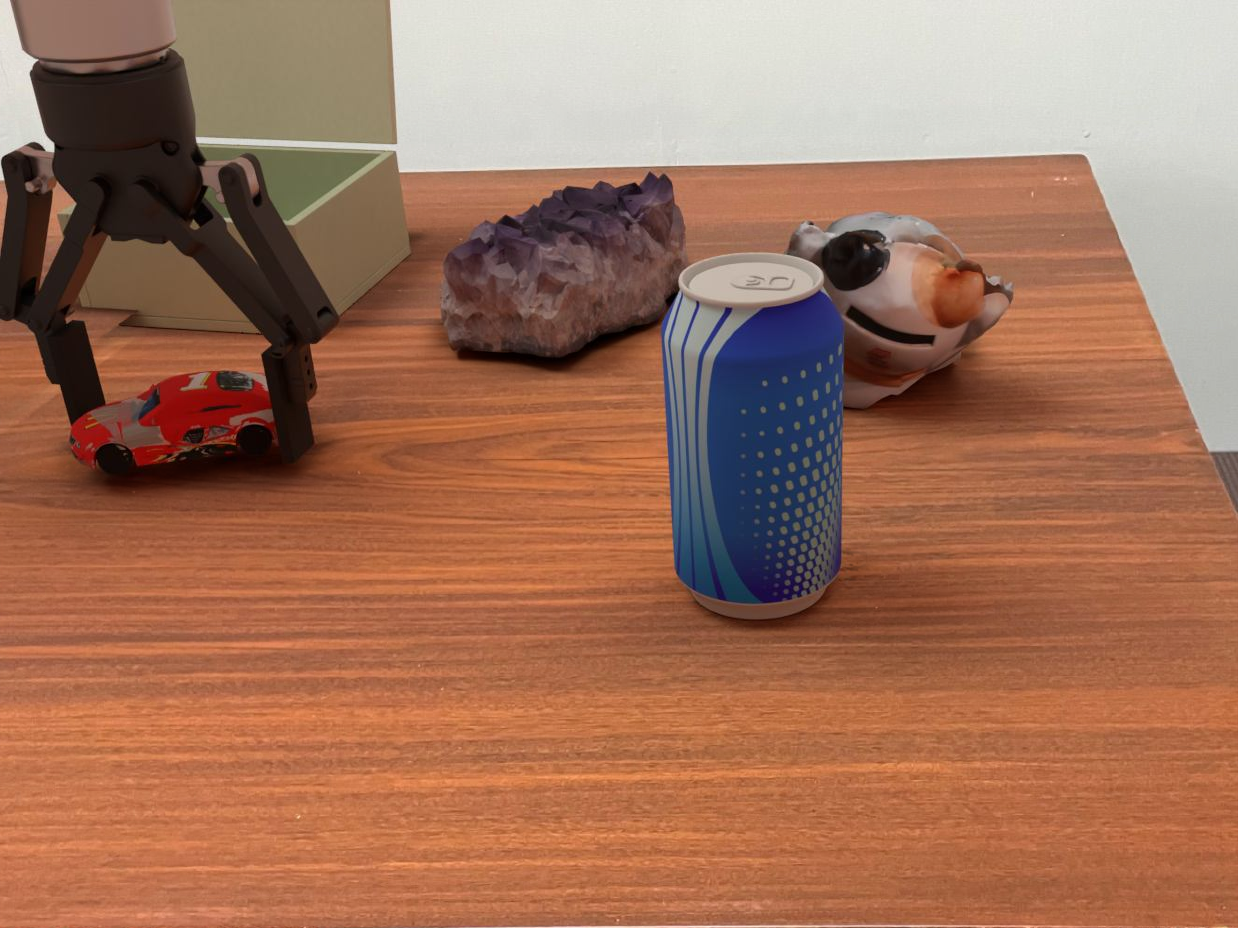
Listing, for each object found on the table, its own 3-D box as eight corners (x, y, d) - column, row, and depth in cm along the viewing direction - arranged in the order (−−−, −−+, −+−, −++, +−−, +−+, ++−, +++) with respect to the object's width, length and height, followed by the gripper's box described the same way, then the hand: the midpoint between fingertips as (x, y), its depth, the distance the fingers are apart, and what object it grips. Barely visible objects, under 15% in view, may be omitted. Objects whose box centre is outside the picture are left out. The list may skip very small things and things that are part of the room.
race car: (72, 484, 91) (53, 418, 88) (77, 444, 95) (59, 380, 93) (311, 452, 93) (298, 387, 91) (305, 414, 98) (293, 351, 95)
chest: (315, 337, 111) (294, 224, 107) (85, 323, 114) (56, 213, 110) (411, 253, 125) (396, 150, 121) (204, 243, 128) (182, 142, 124)
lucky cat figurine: (968, 334, 108) (1045, 176, 96) (947, 471, 102) (1026, 319, 90) (754, 270, 107) (805, 101, 95) (720, 405, 101) (770, 242, 89)
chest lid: (378, -136, 113) (383, -134, 114) (150, -136, 116) (156, -135, 117) (393, 144, 120) (397, 144, 121) (178, 136, 123) (183, 136, 124)
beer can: (750, 647, 77) (742, 324, 68) (642, 583, 82) (620, 276, 73) (875, 586, 81) (883, 275, 72) (764, 529, 87) (758, 233, 77)
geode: (602, 264, 122) (609, 130, 116) (723, 313, 117) (738, 176, 111) (407, 339, 108) (404, 191, 102) (536, 398, 104) (541, 247, 98)
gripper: (360, 45, 82) (416, 433, 95) (-66, 28, 87) (42, 401, 99) (297, 82, 76) (365, 490, 89) (-157, 62, 81) (-30, 454, 93)
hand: (195, 444), depth 94 cm, fingers closed on race car, 12 cm apart
